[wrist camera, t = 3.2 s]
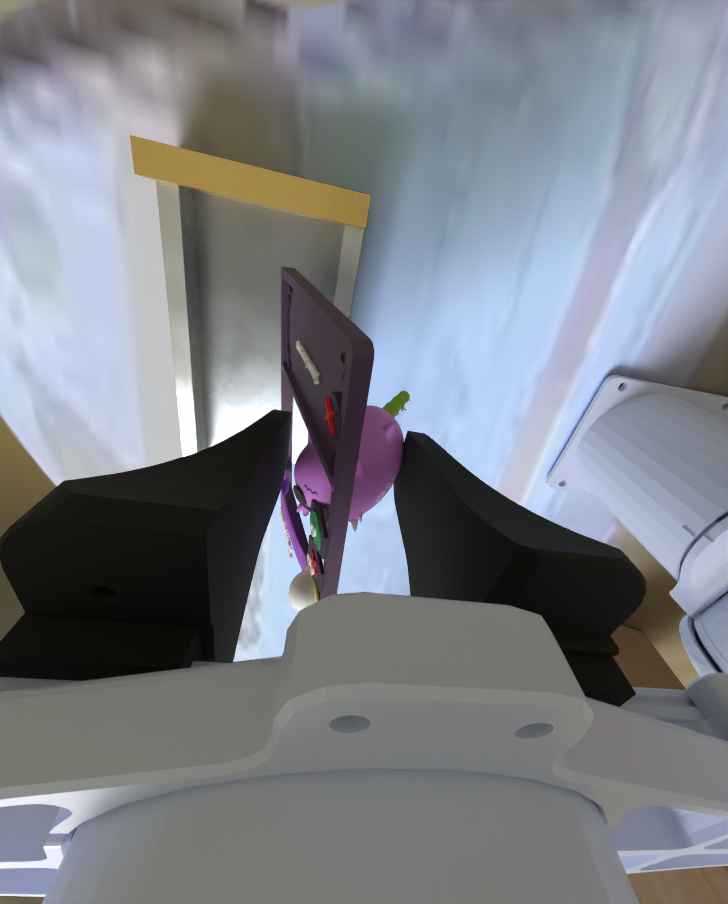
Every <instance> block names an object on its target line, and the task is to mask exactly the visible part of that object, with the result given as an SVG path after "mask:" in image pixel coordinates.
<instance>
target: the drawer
mask: <svg viewBox="0 0 728 904" xmlns="http://www.w3.org/2000/svg"><path fill="white" fill-rule="evenodd" d="M130 140H131V148H132V156H133V164H134V173H135V174H137V175H140V176H143V177H147V178H150V179H153V180H156V186H157V196H158V206H159V217H160V227H161V237H162V248H163V258H164V268H165V279H166V289H167V299H168V310H169V320H170V330H171V341H172V351H173V361H174V371H175V382H176V392H177V402H178V413H179V423H180V433H181V444H182V454H183V457H184V456H187V455H191V454H193V453H196V452H199V451H201V450H204V449H206V448H208V447H211V446H213V445H215V444H217V443H219V442H222V441H224V440H225V439H227V438H229V437H231V436H233V435H234V434H236V433H238V432H240V431H241V430H243V429H245V428H246V427H248V426H249V425H251V424H252V423H254V422H255V421H257V420H258V419H260V418H261V417H263V416H264V415H265V414H267V413H268V412H270V411H271V410H273V409H277V410H281V267H291V268H295V269H296V270H297V271H298V272H300V273H301V274H302V275H303V276H304V277H305V278H306V279H307V280H308V281H309V282H310V283H311V284H312V285H313V286H314V287H315V288H317V289H318V290H319V291H320V292H321V293H322V294H323V295H324V296H325V297H326V298H327V299H328V300H329V301H330V302H331V303H332V304H334V305H335V306H336V307H337V308H338V309H339V310H340V311H341V312H342V313H343V314H344V315H345V316H346V317H347V318H348V319H350V313H351V307H352V301H353V295H354V289H355V282H356V276H357V270H358V264H359V258H360V252H361V246H362V240H363V234H364V229H365V228H366V223H367V217H368V211H369V205H370V199H371V195H368V194H364V193H360V192H356V191H352V190H348V189H344V188H340V187H336V186H332V185H328V184H324V183H320V182H316V181H312V180H308V179H304V178H300V177H296V176H292V175H288V174H284V173H280V172H276V171H272V170H268V169H264V168H260V167H256V166H252V165H248V164H244V163H240V162H236V161H232V160H228V159H224V158H220V157H216V156H212V155H208V154H204V153H200V152H196V151H192V150H188V149H184V148H180V147H175V146H171V145H167V144H163V143H159V142H155V141H151V140H147V139H143V138H139V137H135V136H131V135H130ZM307 444H308V430H307V428H306V425H305V423H304V421H303V418H302V416H301V413H300V411H299V409H298V406H297V404H296V402H295V399H294V397H293V434H292V463H294V464H295V463H296V460H297V458H298V456H299V454H300V453H301V451H302V450H303V449H304V448H305V446H306V445H307Z"/></svg>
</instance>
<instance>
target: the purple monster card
mask: <svg viewBox="0 0 728 904" xmlns="http://www.w3.org/2000/svg"><path fill="white" fill-rule="evenodd" d="M373 361H374V347H373V343H372V341H371V339H370V338H369V337H368V336H366V335H365V334H364V333H363V332H362V331H361V330H360V329H359V328H358V327H357V326H356V325H355V324H354V323H353V322H352V321H351V320H349V319H348V318H347V317H346V316H345V315H344V314H343V313H342V312H341V311H340V310H339V309H338V308H337V307H336V306H335V305H334V304H332V303H331V302H330V301H329V300H328V299H327V298H326V297H325V296H324V295H323V294H322V293H321V292H320V291H319V290H318V289H317V288H315V287H314V286H313V285H312V284H311V283H310V282H309V281H308V280H307V279H306V278H305V277H304V276H303V275H302V274H301V273H300V272H298V271H297V270H296V269H295V268H291V267H281V410H283V411H289V412H292V420H291V430H290V440H289V449H288V459H287V466H286V470H285V475H284V480H283V484H282V488H281V507H280V509H279V511H280V515H281V516H282V517H281V519H282V523H283V528H284V533H285V535H286V540H287V544H288V549H289V555H290V558H293V556H292V547H291V542H292V545H293V548H294V551H295V554H296V557H297V559H298V562H299V564H300V566H301V568H302V572H301V573H299V574H298V575H297V576H296V577H295V578H294V579H293V580H292V582H291V584H290V587H289V600H290V603H291V605H292V606H293V607H294V609H295V610H297V611H298V612H299V611H300V610H302V609H303V608H305V607H307V606H309V605H311V604H313V603H315V602H317V601H320V600H322V599H324V598H326V597H328V596H330V595H333V594H337V589H338V582H339V576H340V570H341V563H342V557H343V551H344V544H345V538H346V532H347V525H348V521H349V522H351V523H352V526H353V529H354V531H356V529H357V523H358V519H359V520H360V522H362V515H363V513H365V512H367V511H368V510H370V509H371V508H372V507H373V506H375V505H376V504H377V503H378V502H379V501H380V500H381V499H382V498H383V497H384V496H385V495H386V493H387V492H388V491H389V489H390V488H391V486H392V484H393V483H394V481H395V479H396V477H397V474H398V472H399V469H400V466H401V463H402V458H403V452H404V439H403V434H402V431H401V428H400V426H399V424H398V422H397V421H396V419H395V418H394V417H395V416H397V415H399V413H398V412H399V410H400V409H401V410H402V411H403V410H406V409H405V408H404V405H405V403H407V402H408V401H410V399H409V397H410V396H409V393H408V392H406V391H401V392H400V393H399V394H398V395H397V396H395V397H394V398H393V399H392V400H391V401H390V402H388V403H387V404H386V405H385V406H384V407H383V408H380V407H376V406H366V405H367V399H368V392H369V386H370V380H371V373H372V367H373ZM293 397H294V399H295V402H296V404H297V406H298V409H299V411H300V413H301V416H302V418H303V421H304V423H305V425H306V428H307V430H308V444H307V445H306V446H305V448H304V449H303V450H302V451H301V453H300V454H299V456H298V458H297V460H296V463H295V469H294V477H295V483H296V485H294V488H293V490H294V493H295V495H296V498H297V499H298V501H299V502H300V504H299V506H298V507H297V504H296V500H295V497H294V494H293V490H292V434H293ZM302 510H303V515H304V516H307V515H308V514H309V511H310V512H311V514H310V525H311V535H309V545H308V542H307V538H306V535H305V531H304V528H303V525H302V521H301V518H300V514H299V512H300V511H302ZM287 529H288V531H287ZM288 532H289V534H288ZM289 535H290V538H291V542H290V538H289ZM322 559H324V565H323V563H322Z"/></svg>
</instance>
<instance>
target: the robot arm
mask: <svg viewBox="0 0 728 904" xmlns="http://www.w3.org/2000/svg"><path fill="white" fill-rule="evenodd" d="M622 383H623V385H622V386H621V387H620V388H618V387H619V385H620V384H622ZM291 420H292V412H289V411H283V410H277V409H273V410H271V411H270V412H268V413H267V414H265V415H264V416H263V417H261V418H260V419H258V420H257V421H255V422H254V423H252V424H251V425H249V426H248V427H246V428H245V429H243V430H241V431H240V432H238V433H236V434H234V435H233V436H231V437H229V438H227V439H225V440H224V441H222V442H219V443H217V444H215V445H213V446H211V447H208V448H206V449H204V450H201V451H199V452H196V453H193V454H191V455H187V456H184V457H181V458H178V459H175V460H172V461H168V462H165V463H162V464H158V465H154V466H150V467H146V468H141V469H136V470H132V471H127V472H122V473H116V474H110V475H103V476H96V477H89V478H82V479H75V480H67V481H63V482H62V483H61V484H60V485H58V486H57V487H56V488H55V489H54V490H52V491H51V492H50V493H49V494H48V495H47V496H45V497H44V498H43V499H42V500H41V501H40V502H38V503H37V504H36V505H35V506H34V507H32V508H31V509H30V510H29V511H28V512H27V513H25V514H24V515H23V516H22V517H21V518H20V519H18V520H17V521H16V522H15V523H14V524H13V525H11V526H10V527H9V528H8V530H7V531H6V532H5V533H4V534H3V536H2V537H1V538H0V561H1V564H2V567H3V570H4V572H5V574H6V576H7V578H8V580H9V582H10V584H11V586H12V588H13V589H14V591H15V593H16V595H17V597H18V599H19V601H20V603H21V605H22V607H23V609H24V611H25V614H24V615H23V616H22V617H21V618H20V619H19V620H18V622H17V623H16V624H15V625H14V626H13V627H12V629H11V630H10V631H9V632H8V633H7V635H5V637H4V638H3V639H2V640H1V641H0V896H43V897H45V898H44V900H43V903H42V904H640V903H639V901H638V899H637V896H636V894H635V892H634V889H633V887H632V885H631V883H630V880H629V878H628V876H627V874H631V873H642V872H653V871H664V870H676V869H688V868H700V867H715V866H728V397H726V396H720V395H715V394H710V393H705V392H700V391H695V390H690V389H685V388H680V387H675V386H670V385H665V384H660V383H655V382H650V381H645V380H640V379H635V378H629V377H624V376H619V375H611V376H609V377H608V378H606V379H605V381H604V382H603V384H602V385H601V387H600V389H599V390H598V392H597V394H596V395H595V397H594V399H593V401H592V402H591V404H590V406H589V407H588V409H587V411H586V413H585V414H584V416H583V418H582V419H581V421H580V423H579V424H578V426H577V428H576V430H575V431H574V433H573V435H572V436H571V438H570V440H569V441H568V443H567V445H566V447H565V448H564V450H563V452H562V453H561V455H560V457H559V459H558V460H557V462H556V464H555V465H554V467H553V469H552V470H551V472H550V474H549V476H548V477H547V479H546V483H547V484H548V486H549V487H551V488H556V489H563V490H570V491H577V492H584V493H591V494H594V495H595V496H596V497H597V498H598V499H599V500H600V501H601V502H602V503H603V504H604V505H605V506H606V507H607V508H608V509H609V510H610V511H611V513H612V514H613V515H614V516H615V517H616V518H617V519H618V520H619V521H620V522H621V523H622V524H623V525H624V526H625V527H626V528H627V529H628V530H629V531H630V532H631V533H632V534H633V536H634V537H635V538H636V539H637V540H638V541H639V542H640V543H641V544H642V545H643V546H644V547H645V548H646V549H647V550H648V551H649V552H650V553H651V554H652V555H653V556H654V557H655V559H656V560H657V561H658V562H659V563H660V564H661V565H662V566H663V567H664V568H665V569H666V570H667V571H668V572H669V573H670V574H671V575H672V576H673V577H674V578H675V579H676V580H677V582H678V583H677V584H676V586H675V587H674V588H673V589H672V590H671V591H670V592H669V594H670V595H671V597H672V598H673V599H674V600H675V601H676V602H677V603H678V604H679V605H680V607H681V608H682V609H683V610H684V611H685V612H686V613H687V614H686V615H685V616H684V617H683V618H682V619H681V622H680V624H679V632H680V636H681V640H682V643H683V645H684V647H685V649H686V652H687V654H688V656H689V658H690V661H691V663H692V664H693V666H694V668H695V670H696V671H697V673H698V674H699V676H700V677H699V678H697V679H696V680H694V681H693V682H692V683H690V684H689V685H688V686H687V687H686V690H674V689H657V688H641V687H632V686H631V684H630V683H629V681H628V680H627V678H626V677H625V675H624V673H623V672H622V670H621V669H620V667H619V665H618V664H617V662H616V661H615V659H614V658H613V656H617V655H618V654H619V648H618V646H617V645H616V643H615V642H614V640H613V639H612V637H611V634H612V633H613V632H614V631H615V630H616V629H617V628H618V627H619V626H620V625H621V624H622V623H623V622H624V621H625V620H626V619H627V618H628V617H629V616H630V615H631V614H632V613H633V612H634V611H635V610H636V609H637V608H638V606H639V605H640V604H641V603H642V601H643V598H644V596H645V593H646V580H645V578H644V577H643V575H642V574H641V572H640V571H639V570H638V569H637V567H636V566H635V565H634V564H633V563H632V562H631V561H630V559H629V558H628V557H627V556H626V555H625V554H624V553H623V552H622V551H621V550H620V549H617V548H615V547H612V546H610V545H607V544H604V543H602V542H599V541H596V540H594V539H591V538H589V537H586V536H583V535H581V534H578V533H576V532H573V531H571V530H569V529H567V528H564V527H562V526H560V525H558V524H556V523H553V522H551V521H549V520H547V519H545V518H543V517H541V516H539V515H537V514H535V513H533V512H531V511H529V510H528V509H526V508H524V507H522V506H520V505H518V504H517V503H515V502H513V501H512V500H510V499H508V498H507V497H505V496H503V495H502V494H500V493H499V492H497V491H496V490H494V489H493V488H491V487H490V486H488V485H487V484H485V483H484V482H483V481H481V480H480V479H479V478H477V477H476V476H475V475H474V474H472V473H471V472H470V471H468V470H467V469H466V468H465V467H464V466H462V465H461V464H460V463H459V462H458V461H456V460H455V459H454V458H453V457H452V456H451V455H450V454H449V453H447V452H446V451H445V450H444V449H443V448H442V447H441V446H440V445H438V444H437V443H436V442H435V441H434V440H433V439H431V438H430V437H429V436H427V435H426V434H424V433H418V432H412V431H408V432H407V435H406V438H405V442H404V452H403V458H402V463H401V466H400V469H399V472H398V474H397V477H396V479H395V481H394V500H395V506H396V511H397V516H398V521H399V525H400V530H401V534H402V539H403V544H404V548H405V553H406V558H407V565H408V573H409V583H410V594H411V596H403V595H392V594H381V593H371V592H359V593H346V594H333V595H330V596H328V597H326V598H324V599H322V600H320V601H317V602H315V603H313V604H311V605H309V606H307V607H305V608H303V609H302V610H300V611H299V613H298V614H297V616H296V617H295V619H294V620H293V622H292V623H291V625H290V627H289V628H288V630H287V635H286V642H285V648H284V652H283V655H282V656H279V657H271V658H263V659H255V660H247V661H239V662H233V659H234V655H235V650H236V646H237V641H238V637H239V633H240V628H241V624H242V620H243V615H244V611H245V607H246V602H247V598H248V594H249V590H250V586H251V582H252V577H253V573H254V569H255V565H256V561H257V557H258V553H259V550H260V546H261V543H262V540H263V537H264V534H265V532H266V529H267V526H268V523H269V521H270V518H271V515H272V513H273V510H274V507H275V504H276V502H277V499H278V496H279V493H280V491H281V488H282V484H283V480H284V475H285V470H286V466H287V459H288V449H289V440H290V430H291ZM561 481H562V482H561ZM560 482H561V483H560Z"/></svg>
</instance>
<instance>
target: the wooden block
mask: <svg viewBox="0 0 728 904" xmlns="http://www.w3.org/2000/svg"><path fill="white" fill-rule="evenodd" d="M611 637H612V639H613V640H614V642H615V643H616V645H617V646H618V648H619V654H618V655H617V656H613V658H614V659H615V661H616V662H617V664H618V665H619V667H620V669H621V670H622V672H623V673H624V675H625V677H626V678H627V680H628V681H629V683H630V684H631V686H632V687H641V688H657V689H674V690H686V689H685V687H684V686H683V685H682V683H681V682H680V681H679V679H678V678H677V677H676V675H675V674H674V673H673V671H672V670H671V669H670V667H669V666H668V665H667V663H666V662H665V661H664V659H663V658H662V657H661V655H660V654H659V653H658V651H657V650H656V649H655V647H654V646H653V645H652V643H651V642H650V641H649V639H648V638H647V636H646V635H645V634H644V633H642V632H640V631H638V630H635V629H632V628H629V627H626V626H624V625H620V626H619V627H618V628H617V629H616V630H615V631H614V632H613V633H612V634H611ZM627 876H628V878H629V880H630V883H631V885H632V887H633V889H634V892H635V894H636V896H637V899H638V901H639V903H640V904H728V866H715V867H700V868H688V869H676V870H664V871H653V872H642V873H631V874H627Z"/></svg>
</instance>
